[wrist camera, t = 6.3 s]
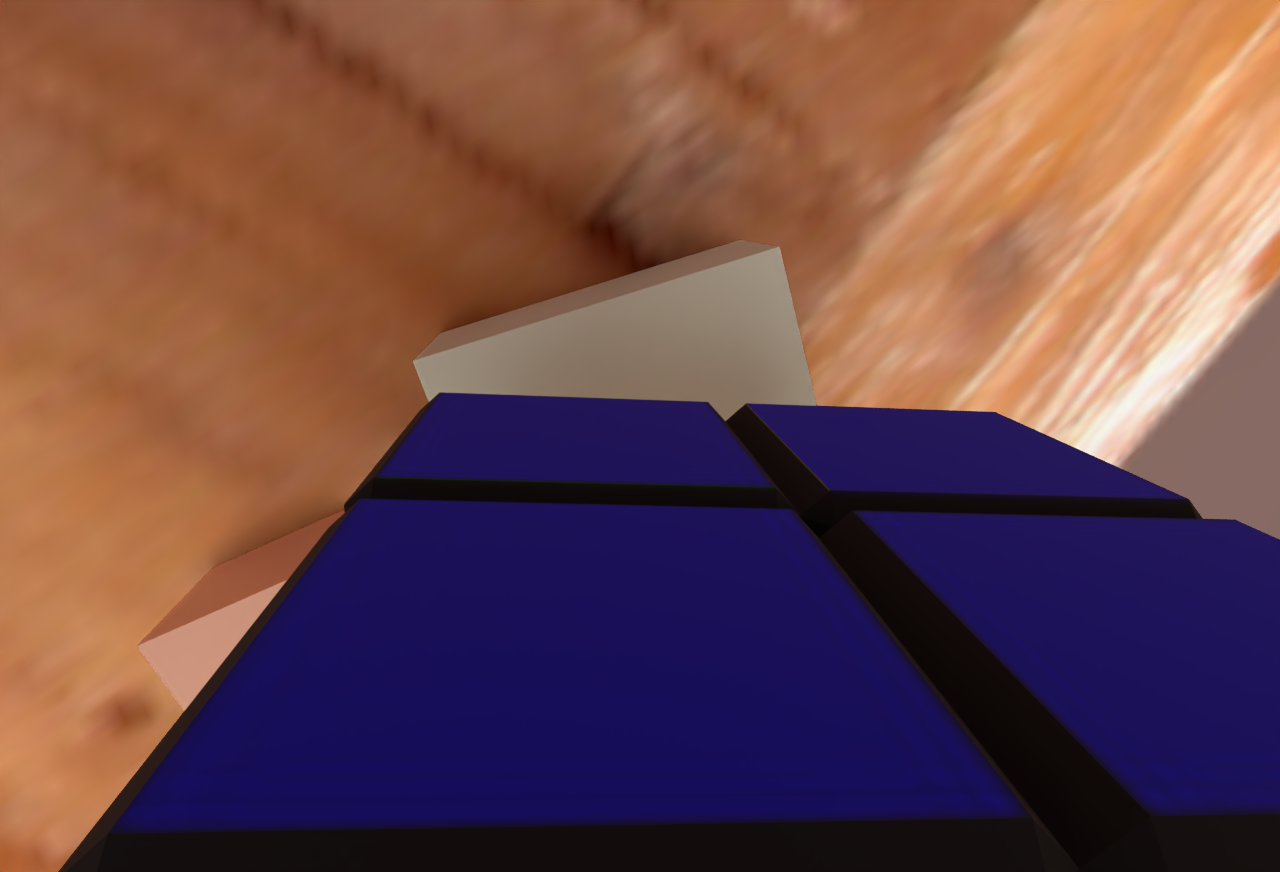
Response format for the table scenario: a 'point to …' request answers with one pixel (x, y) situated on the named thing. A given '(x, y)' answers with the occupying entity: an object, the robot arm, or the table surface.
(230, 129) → the table surface
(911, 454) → the puzzle cube
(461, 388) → the pedestal
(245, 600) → the terracotta block
